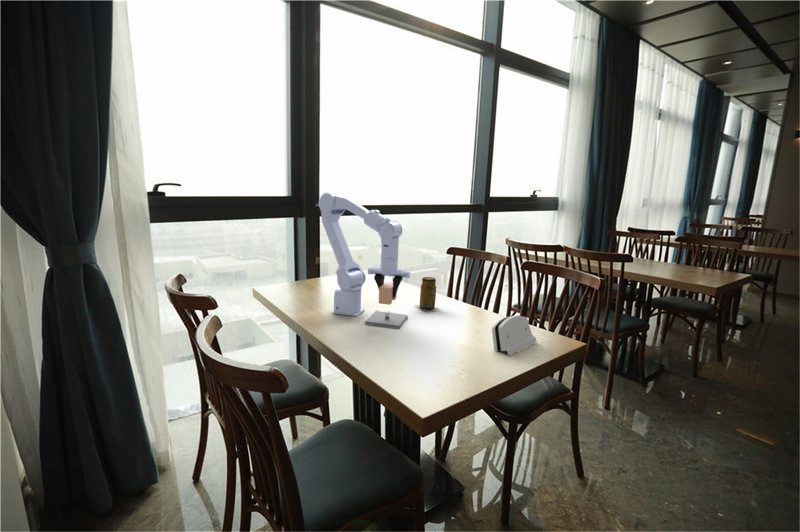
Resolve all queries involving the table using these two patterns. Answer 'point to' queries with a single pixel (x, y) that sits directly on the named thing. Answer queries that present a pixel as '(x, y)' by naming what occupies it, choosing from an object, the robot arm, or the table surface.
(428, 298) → the condiment
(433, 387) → the table surface
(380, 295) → the block
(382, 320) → the plate
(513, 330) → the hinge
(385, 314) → the steel stub
